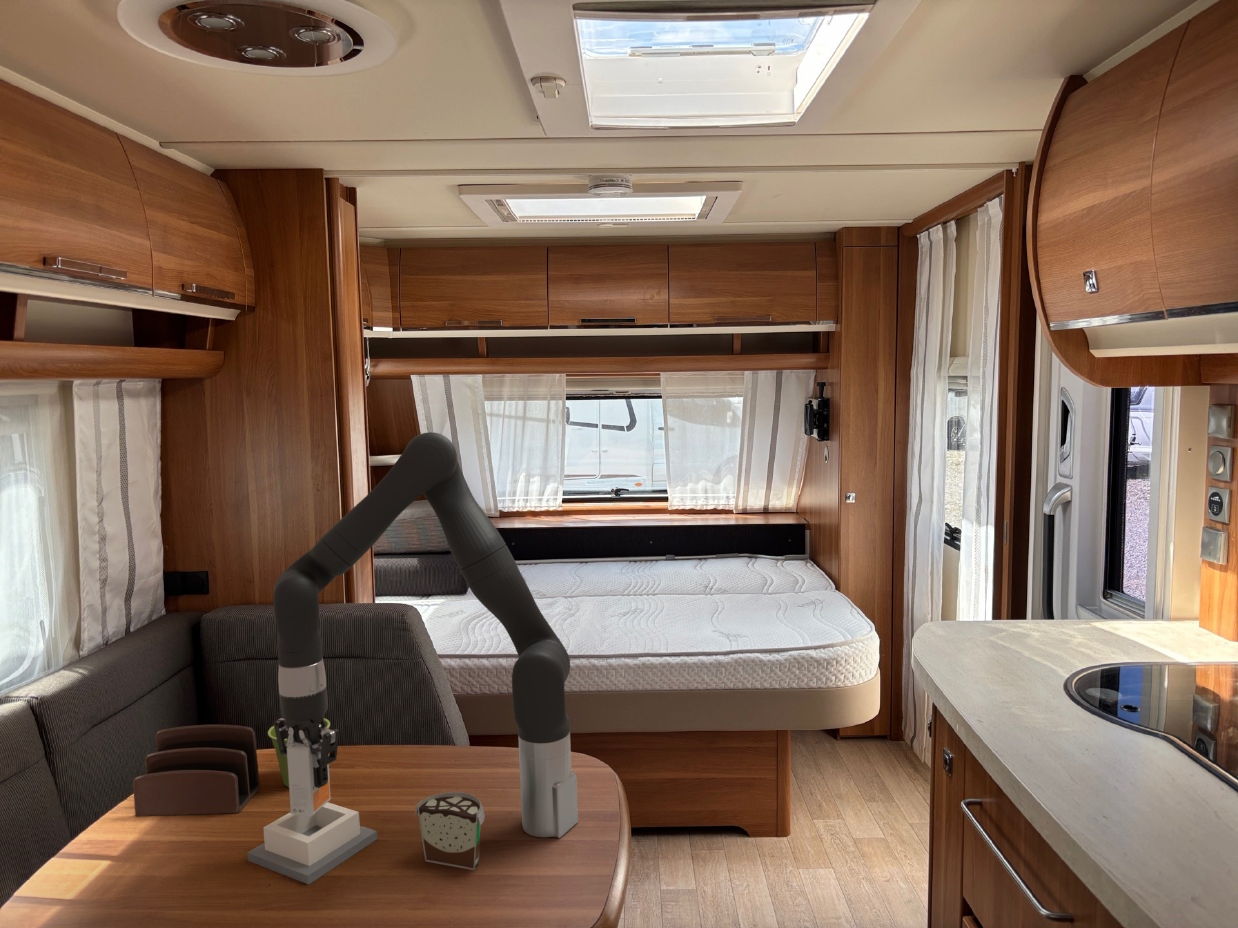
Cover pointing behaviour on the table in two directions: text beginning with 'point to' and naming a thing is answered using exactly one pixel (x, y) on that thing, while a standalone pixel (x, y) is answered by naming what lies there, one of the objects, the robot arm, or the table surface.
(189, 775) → the letter holder
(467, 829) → the food container
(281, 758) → the plant pot
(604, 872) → the table surface
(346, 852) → the box stand
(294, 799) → the skincare box
